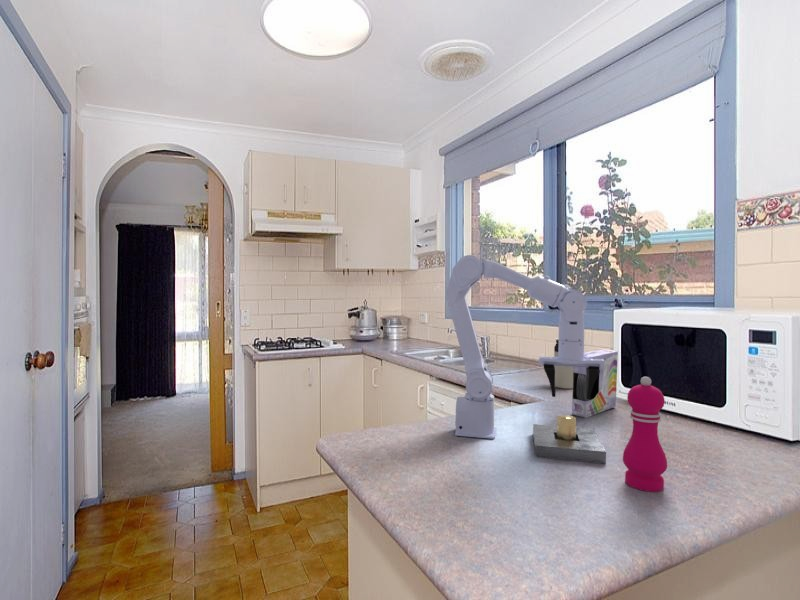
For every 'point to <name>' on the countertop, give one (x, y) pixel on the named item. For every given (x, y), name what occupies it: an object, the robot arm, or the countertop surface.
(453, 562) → the countertop surface
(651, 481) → the pepper mill
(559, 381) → the travel mug
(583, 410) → the cake pan box
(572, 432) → the brass cylinder
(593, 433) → the plate
